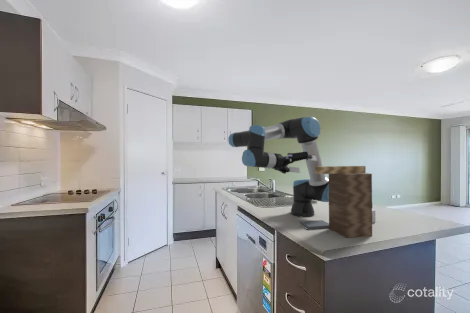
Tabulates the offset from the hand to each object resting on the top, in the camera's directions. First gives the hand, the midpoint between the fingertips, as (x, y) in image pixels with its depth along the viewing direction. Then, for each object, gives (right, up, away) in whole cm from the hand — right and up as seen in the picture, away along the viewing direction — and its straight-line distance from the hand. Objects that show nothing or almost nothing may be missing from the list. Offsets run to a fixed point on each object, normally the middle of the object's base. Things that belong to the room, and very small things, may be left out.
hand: (307, 164), depth 122 cm
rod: (+15, -4, -5) cm, 17 cm away
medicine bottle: (+40, -34, +16) cm, 55 cm away
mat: (+7, -34, +7) cm, 36 cm away
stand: (+20, -34, -4) cm, 40 cm away
